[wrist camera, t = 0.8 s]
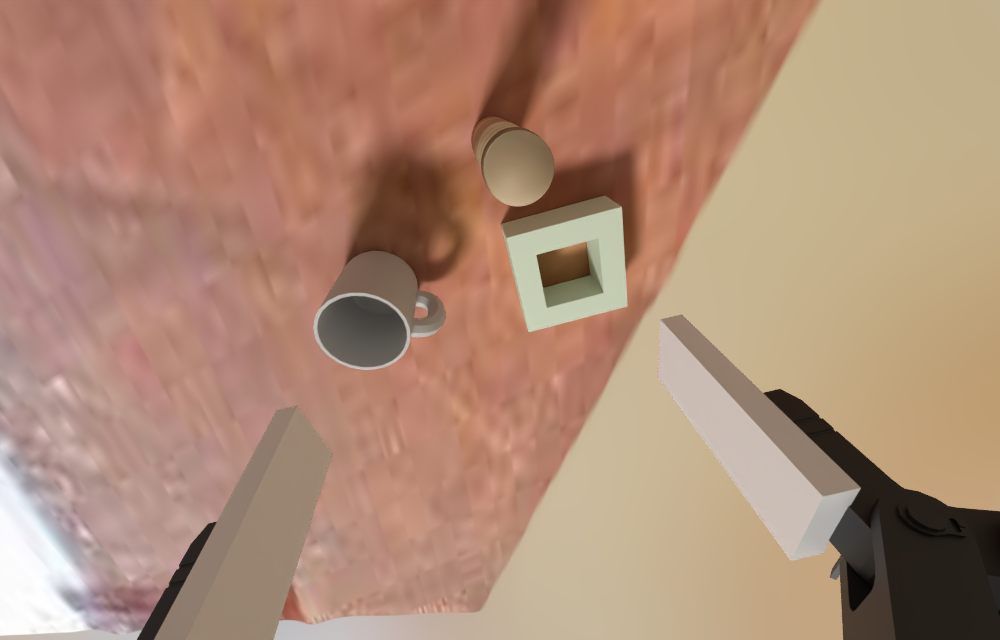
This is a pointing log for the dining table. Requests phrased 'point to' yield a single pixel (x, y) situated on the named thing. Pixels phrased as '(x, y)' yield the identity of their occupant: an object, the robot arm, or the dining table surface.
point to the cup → (374, 312)
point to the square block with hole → (558, 230)
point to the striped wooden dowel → (512, 161)
